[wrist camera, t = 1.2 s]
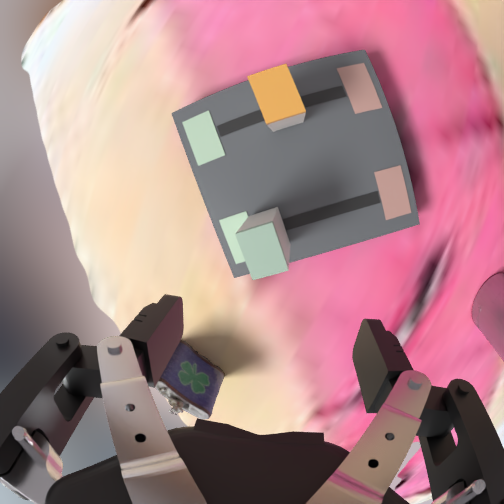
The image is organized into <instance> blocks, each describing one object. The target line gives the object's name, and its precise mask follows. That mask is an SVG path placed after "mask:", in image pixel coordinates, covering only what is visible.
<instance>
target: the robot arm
mask: <svg viewBox="0 0 504 504" xmlns="http://www.w3.org/2000/svg"><path fill="white" fill-rule="evenodd" d="M472 319H473V322H474V323H475V325H476V326H477V327H478V328H479V330H480V331H481V332H482V333H483V335H484V336H485V337H486V339H487V340H488V341H489V342H490V344H491V345H492V346H493V348H494V349H495V350H496V352H497V353H498V354H499V356H500V357H501V358H502V360H503V361H504V273H498V274H496V275H494V276H492V277H491V278H489V279H488V280H487V281H486V282H485V283H484V284H483V286H482V287H481V288H480V290H479V292H478V293H477V295H476V298H475V300H474V303H473V307H472ZM183 328H184V325H183V301H182V298H181V297H178V296H172V295H166V294H165V295H164V296H163V297H162V298H161V299H160V301H159V302H158V303H157V304H156V303H152V304H150V305H148V306H146V307H144V308H143V309H142V310H141V311H140V313H139V314H138V315H137V316H136V317H135V318H134V320H133V321H132V322H131V323H130V324H129V325H128V326H127V328H126V329H125V330H124V331H123V332H122V333H121V335H120V336H111V337H107V338H105V339H103V340H102V341H101V342H99V344H98V345H97V346H86V345H80V342H79V339H78V337H77V336H76V335H75V334H72V333H60V334H57V335H55V336H53V337H52V338H51V339H50V340H49V341H48V342H47V343H46V344H45V345H44V346H43V347H42V348H41V349H40V350H39V351H38V352H37V353H36V354H35V355H34V356H33V357H32V359H31V360H30V361H29V362H28V363H27V364H26V365H25V366H24V367H23V368H22V369H21V371H20V372H19V373H18V374H17V375H16V376H15V377H14V378H13V379H12V381H11V382H10V383H9V384H8V385H7V386H6V388H5V389H4V390H3V391H2V392H1V393H0V482H1V483H2V484H3V485H4V486H5V487H7V488H8V489H10V490H11V491H13V492H14V493H15V494H17V495H18V496H19V497H20V498H22V499H25V500H31V501H32V502H34V503H35V504H409V503H408V502H407V501H406V500H404V499H403V498H402V497H401V496H399V495H398V494H397V493H396V492H395V491H393V490H392V489H391V488H390V487H389V486H390V484H391V482H392V480H393V479H394V477H395V475H396V474H397V472H398V470H399V468H400V466H401V464H402V462H403V461H404V458H405V457H406V455H407V453H408V450H409V449H410V446H411V444H412V442H413V440H414V438H415V436H418V437H419V440H420V444H421V448H422V452H423V456H424V460H425V464H426V469H427V473H428V478H429V483H430V487H431V493H432V498H433V502H432V503H431V504H504V448H503V446H502V444H501V441H500V439H499V437H498V434H497V432H496V430H495V428H494V426H493V424H492V421H491V419H490V417H489V415H488V413H487V411H486V409H485V407H484V405H483V403H482V401H481V399H480V398H479V396H478V394H477V392H476V390H475V388H474V387H473V386H472V385H471V384H470V383H469V382H467V381H465V380H462V379H454V380H452V381H451V382H450V383H449V385H448V387H447V388H442V387H436V386H431V382H430V380H429V378H428V377H427V376H426V375H424V374H423V373H421V372H418V371H415V370H413V368H412V366H411V364H410V362H409V360H408V358H407V356H406V354H405V352H404V350H403V349H402V347H401V346H400V343H399V341H398V339H397V337H396V336H394V335H393V334H392V333H391V332H390V331H386V330H385V328H384V326H383V324H382V322H381V320H377V319H363V321H362V323H361V326H360V329H359V332H358V335H357V339H356V342H355V345H354V348H353V362H354V366H355V370H356V373H357V377H358V381H359V385H360V388H361V392H362V396H363V400H364V404H365V408H366V412H367V413H377V415H376V416H375V418H374V419H373V421H372V422H371V424H370V425H369V427H368V428H367V430H366V431H365V433H364V434H363V435H362V437H361V438H360V440H359V441H358V442H357V444H356V445H355V447H354V448H353V449H352V451H351V452H348V451H347V450H345V449H343V448H342V447H340V446H337V445H335V444H332V443H329V442H325V441H324V433H314V432H286V433H278V434H269V435H257V434H254V433H251V432H248V431H245V430H242V429H239V428H237V427H234V426H231V425H229V424H223V423H218V422H212V421H207V420H202V419H197V420H196V423H195V426H194V427H181V428H175V429H171V430H168V431H167V430H166V427H165V425H164V423H163V421H162V418H161V416H160V414H159V411H158V409H157V407H156V404H155V402H154V399H153V397H152V394H151V392H150V389H149V386H150V387H154V388H155V386H156V384H157V383H158V381H159V379H160V377H161V375H162V373H163V372H164V370H165V368H166V366H167V364H168V362H169V360H170V359H171V357H172V355H173V353H174V351H175V349H176V348H177V346H178V344H179V342H180V340H181V338H182V335H183ZM61 382H63V384H62V386H61V387H60V389H59V390H58V391H57V393H56V394H55V395H54V392H55V390H56V388H57V387H58V386H59V384H60V383H61ZM94 397H96V398H103V402H104V406H105V411H106V415H107V420H108V424H109V427H110V431H111V435H112V439H113V443H114V446H115V449H116V453H117V455H115V456H113V457H111V458H109V459H106V460H104V461H101V462H99V463H97V464H94V465H92V466H90V467H87V468H84V469H82V470H79V471H76V472H74V473H71V474H68V475H66V476H64V477H62V473H61V472H62V469H63V464H62V460H61V458H60V454H61V453H62V451H63V449H64V447H65V446H66V444H67V442H68V440H69V439H70V437H71V435H72V433H73V432H74V430H75V428H76V427H77V425H78V423H79V421H80V420H81V418H82V416H83V415H84V413H85V411H86V410H87V408H88V406H89V405H90V403H91V402H92V400H93V398H94ZM453 428H455V431H456V433H457V436H458V444H457V447H456V445H455V442H454V439H453V436H452V434H451V430H452V429H453Z"/></svg>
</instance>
